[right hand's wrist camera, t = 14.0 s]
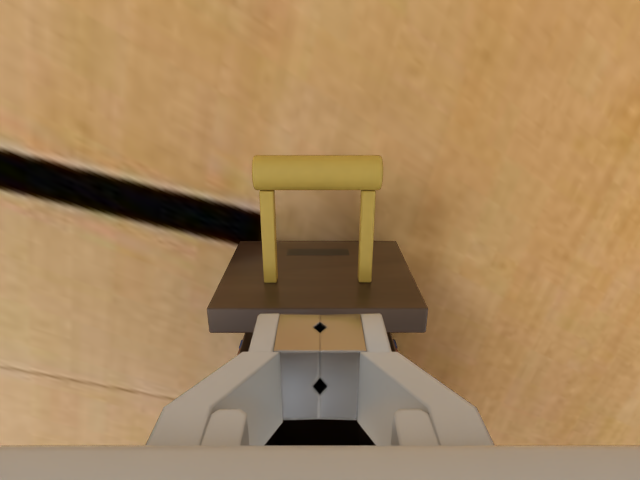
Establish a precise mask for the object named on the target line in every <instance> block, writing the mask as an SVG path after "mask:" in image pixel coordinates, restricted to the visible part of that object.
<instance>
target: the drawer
mask: <svg viewBox="0 0 640 480" xmlns="http://www.w3.org/2000/svg"><path fill="white" fill-rule="evenodd" d="M252 180H253V186H254V188H255V189H256V190H260V192H259V197H260V216H261V235H262V241H240V243H239V245H238V247H237V249H236V251H235V253H234V255H233V257H232V259H231V261H230V263H229V265H228V267H227V269H226V271H225V273H224V275H223V277H222V279H221V281H220V283H219V285H218V288H217V290H216V292H215V294H214V296H213V298H212V300H211V302H210V304H209V306H208V308H207V314H208V323H209V331H210V333H245V335H244V338H243V342H242V345H241V348H240V352H239V354H240V353H241V352H248V351H249V347H250V343H251V340H252V336H253V332H254V329H255V325H256V321H257V317H258V315H259V314H272V313H279V314H320V315H336V314H373V313H380V314H381V315H382V318H383V321H384V325H385V329H386V333H387V336H388V340H389V344H390V347H391V351H392V352H396V350H395V346H394V343H393V339H392V336H391V333H412V332H426V324H427V315H428V308H427V306H426V303H425V301H424V299H423V297H422V295H421V293H420V291H419V289H418V287H417V285H416V282H415V280H414V278H413V276H412V274H411V272H410V270H409V268H408V266H407V264H406V262H405V259H404V257H403V255H402V253H401V251H400V249H399V247H398V245H397V243H396V241H373V239H374V219H375V199H376V192H375V190H380V189H381V186H382V180H383V162H382V158H381V156H379V155H256V156H254V158H253V161H252ZM274 190H361V199H360V227H359V241H276V218H275V192H274ZM264 446H376V445H375V444H374V442H373V441H372V440H371V439H370V437H369V436H368V435H367V434H366V432H365V431H364V430H363V428H362V427H361V426H360V425H359V423H358V422H357V420H332V419H307V420H283V423H282V424H281V425H280V426H279V428H278V429H277V430H276V431H275V433H274V434H273V435H272V436H271V438H270V439H269V440H268V441H267V443H266V444H265V445H264Z"/></svg>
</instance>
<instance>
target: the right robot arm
mask: <svg viewBox="0 0 640 480" xmlns="http://www.w3.org/2000/svg"><path fill="white" fill-rule="evenodd" d="M307 419H332V420H357V422H358V423H359V425H360V426H361V427H362V428H363V430H364V431H365V432H366V434H367V435H368V436H369V437H370V439H371V440H372V441H373V442H374V444H375V445H376V446H264V445H265V444H266V443H267V441H268V440H269V439H270V438H271V436H272V435H273V434H274V433H275V431H276V430H277V429H278V428H279V426H280V425H281V424H282V423H283V420H307ZM0 480H640V445H494V443H493V441H492V439H491V437H490V435H489V433H488V431H487V428H486V426H485V424H484V422H483V420H482V418H481V416H480V414H479V412H478V410H477V408H476V407H475V406H473V405H472V404H471V403H469V402H468V401H466V400H465V399H463V398H462V397H461V396H459V395H458V394H456V393H455V392H454V391H452V390H451V389H449V388H448V387H447V386H445V385H444V384H442V383H441V382H439V381H438V380H437V379H435V378H434V377H432V376H431V375H430V374H428V373H427V372H425V371H424V370H423V369H421V368H420V367H418V366H417V365H415V364H414V363H413V362H411V361H410V360H408V359H407V358H406V357H404V356H403V355H401V354H400V353H399V352H392V351H391V347H390V344H389V340H388V336H387V333H386V329H385V325H384V321H383V318H382V315H381V314H380V313H373V314H336V315H320V314H279V313H272V314H259V315H258V317H257V321H256V325H255V329H254V332H253V336H252V340H251V343H250V347H249V351H248V352H241V353H240V354H239V355H237V356H236V357H234V358H233V359H232V360H230V361H229V362H227V363H226V364H224V365H223V366H222V367H220V368H219V369H217V370H216V371H215V372H213V373H212V374H210V375H209V376H207V377H206V378H205V379H203V380H202V381H200V382H199V383H198V384H196V385H195V386H193V387H192V388H190V389H189V390H188V391H186V392H185V393H183V394H182V395H181V396H179V397H178V398H176V399H175V400H173V401H172V402H171V403H169V404H168V405H166V406H165V407H164V408H163V410H162V412H161V414H160V416H159V418H158V420H157V422H156V424H155V427H154V429H153V431H152V433H151V435H150V437H149V439H148V441H147V443H146V445H28V446H0Z"/></svg>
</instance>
